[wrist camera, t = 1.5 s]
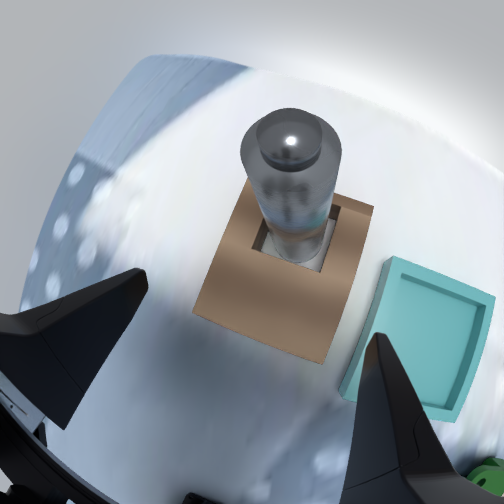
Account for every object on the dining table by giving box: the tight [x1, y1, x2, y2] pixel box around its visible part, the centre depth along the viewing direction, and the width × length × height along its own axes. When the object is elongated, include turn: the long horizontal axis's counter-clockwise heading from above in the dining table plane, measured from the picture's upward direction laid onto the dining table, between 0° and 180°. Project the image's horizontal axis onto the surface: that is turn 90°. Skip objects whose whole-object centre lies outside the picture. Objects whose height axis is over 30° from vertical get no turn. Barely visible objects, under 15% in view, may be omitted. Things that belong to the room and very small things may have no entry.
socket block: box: [192, 178, 374, 364], centre depth 21 cm, size 12×10×3 cm
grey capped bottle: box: [240, 108, 342, 263], centre depth 16 cm, size 4×4×14 cm
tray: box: [339, 256, 496, 423], centre depth 17 cm, size 11×11×2 cm
